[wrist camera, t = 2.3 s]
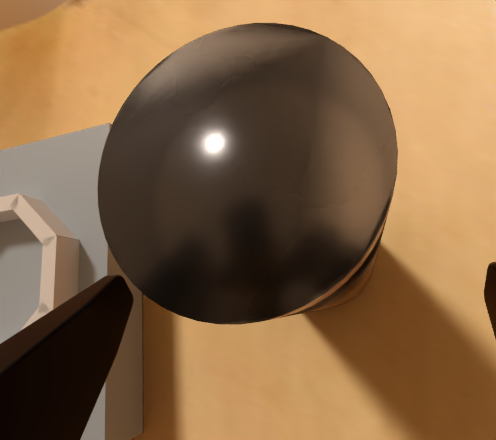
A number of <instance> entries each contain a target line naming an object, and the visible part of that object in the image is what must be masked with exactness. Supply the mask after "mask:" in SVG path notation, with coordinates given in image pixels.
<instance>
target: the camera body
mask: <svg viewBox="0 0 496 440" xmlns="http://www.w3.org/2000/svg"><path fill="white" fill-rule="evenodd" d="M111 127H112V124H110V123H108V124H104V125H100V126H96V127H92V128H88V129H84V130H80V131H76V132H72V133H68V134H64V135H60V136H56V137H52V138H48V139H44V140H40V141H36V142H32V143H28V144H24V145H20V146H16V147H12V148H8V149H4V150H0V344H1V343H2V342H4V341H5V340H7V339H8V338H10V337H11V336H13V335H15V334H16V333H18V332H19V331H21V330H22V329H24V328H25V327H27V326H28V325H30V324H32V323H33V322H35V321H36V320H38V319H39V318H41V317H42V316H44V315H46V314H47V313H49V312H50V311H52V310H53V309H55V308H56V307H58V306H59V305H61V304H63V303H64V302H66V301H67V300H69V299H70V298H72V297H73V296H75V295H77V294H78V293H80V292H81V291H83V290H84V289H86V288H87V287H89V286H91V285H92V284H94V283H95V282H97V281H98V280H100V279H101V278H103V277H104V276H106V275H117V274H118V275H121V276H123V277H124V279H125V281H126V283H127V285H128V287H129V288H130V290H131V292H132V294H133V298H134V302H133V307H132V310H131V313H130V316H129V319H128V322H127V325H126V328H125V332H124V335H123V338H122V341H121V344H120V347H119V350H118V353H117V355H116V358H115V360H114V363H113V365H112V367H111V370H110V372H109V374H108V377H107V379H106V381H105V384H104V386H103V388H102V391H101V393H100V395H99V398H98V400H97V402H96V405H95V407H94V409H93V412H92V414H91V416H90V419H89V421H88V423H87V426H86V428H85V430H84V432H83V435H82V437H81V439H80V440H131V439H133V438H134V437H136V436H138V435H139V434H141V433H143V347H142V292H141V291H140V290H139V289H138V288H137V287H136V286H135V285H134V284H133V283H132V282H131V281H130V280H129V279H128V277H127V276H126V275H125V274H124V272H123V271H122V270H121V268H120V267H119V265H118V263H117V262H116V260H115V258H114V257H113V255H112V253H111V250H110V248H109V246H108V244H107V241H106V239H105V235H104V232H103V229H102V225H101V221H100V215H99V208H98V190H97V187H98V174H99V167H100V162H101V156H102V152H103V149H104V146H105V142H106V139H107V136H108V134H109V131H110V129H111Z"/></svg>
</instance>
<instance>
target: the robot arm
mask: <svg viewBox="0 0 496 440" xmlns="http://www.w3.org/2000/svg"><path fill="white" fill-rule="evenodd" d="M484 299H485V303H486V307H487V310H488V314H489V317H490V321H491V324H492V328H493V331H494V335H495V339H496V262H492V263H490V264H489V266H488V269H487V275H486V282H485V288H484ZM133 302H134V298H133V294H132V292H131V290H130V288H129V287H128V285H127V283H126V281H125V279H124V277H123V276H121V275H118V274H117V275H106V276H104V277H103V278H101V279H100V280H98V281H97V282H95V283H94V284H92V285H91V286H89V287H87V288H86V289H84V290H83V291H81V292H80V293H78V294H77V295H75V296H73V297H72V298H70V299H69V300H67V301H66V302H64V303H63V304H61V305H59V306H58V307H56V308H55V309H53V310H52V311H50V312H49V313H47V314H46V315H44V316H42V317H41V318H39V319H38V320H36V321H35V322H33V323H32V324H30V325H28V326H27V327H25V328H24V329H22V330H21V331H19V332H18V333H16V334H15V335H13V336H11V337H10V338H8V339H7V340H5V341H4V342H2V343H1V344H0V440H80V439H81V437H82V435H83V432H84V430H85V428H86V426H87V423H88V421H89V419H90V416H91V414H92V412H93V409H94V407H95V405H96V402H97V400H98V398H99V395H100V393H101V391H102V388H103V386H104V384H105V381H106V379H107V377H108V374H109V372H110V370H111V367H112V365H113V363H114V360H115V358H116V355H117V353H118V350H119V347H120V344H121V341H122V338H123V335H124V332H125V328H126V325H127V322H128V319H129V316H130V313H131V310H132V307H133Z"/></svg>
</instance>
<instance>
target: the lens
mask: <svg viewBox="0 0 496 440" xmlns="http://www.w3.org/2000/svg"><path fill="white" fill-rule="evenodd" d="M397 157H398V149H397V140H396V131H395V126H394V123H393V119H392V115H391V111H390V108H389V106H388V104H387V101H386V99H385V97H384V95H383V92H382V90H381V89H380V87H379V86H378V84H377V82H376V81H375V79H374V78H373V76H372V75H371V73H370V72H369V71H368V70H367V69H366V68H365V67H364V65H363V64H362V63H361V62H360V61H359V60H358V59H357V58H356V57H355V56H354V55H352V54H351V53H350V52H349V51H347V50H346V49H345V48H344V47H342V46H341V45H339V44H337V43H336V42H334V41H332V40H331V39H329V38H327V37H325V36H323V35H320V34H318V33H316V32H313V31H311V30H308V29H304V28H300V27H296V26H293V25H285V24H277V23H252V24H244V25H237V26H233V27H229V28H224V29H220V30H218V31H215V32H212V33H209V34H206V35H204V36H202V37H199V38H197V39H195V40H193V41H191V42H189V43H187V44H186V45H184V46H182V47H181V48H179V49H178V50H176V51H174V52H173V53H171V54H170V55H169V56H167V57H166V58H165V59H164V60H162V61H161V62H160V63H158V64H157V65H156V66H155V67H154V68H153V69H152V70H151V71H150V72H149V73H148V74H147V75H146V76H145V77H144V78H143V79H142V80H141V81H140V83H139V84H138V85H137V86H136V87H135V88H134V90H133V91H132V92H131V94H130V95H129V97H128V98H127V99H126V101H125V102H124V104H123V105H122V107H121V109H120V111H119V113H118V114H117V116H116V118H115V120H114V122H113V124H112V127H111V129H110V131H109V134H108V136H107V139H106V142H105V146H104V149H103V152H102V156H101V162H100V167H99V174H98V187H97V190H98V208H99V215H100V221H101V225H102V229H103V232H104V235H105V239H106V241H107V244H108V246H109V248H110V250H111V253H112V255H113V257H114V258H115V260H116V262H117V263H118V265H119V267H120V268H121V270H122V271H123V272H124V274H125V275H126V276H127V277H128V279H129V280H130V281H131V282H132V283H133V284H134V285H135V286H136V287H137V288H138V289H139V290H140V291H141V292H142V293H143V294H144V295H146V296H147V297H148V298H150V299H151V300H153V301H154V302H156V303H157V304H158V305H160V306H161V307H163V308H165V309H167V310H169V311H172V312H174V313H176V314H178V315H180V316H183V317H187V318H190V319H193V320H196V321H201V322H208V323H214V324H246V323H253V322H260V321H266V320H271V319H276V318H280V317H285V316H290V315H295V314H300V313H305V312H310V311H315V310H320V309H325V308H330V307H334V306H338V305H341V304H343V303H346V302H348V301H349V300H351V299H353V298H354V297H355V296H356V295H358V294H359V293H360V291H361V290H362V289H363V288H364V287H365V285H366V284H367V282H368V280H369V278H370V276H371V273H372V270H373V266H374V263H375V259H376V255H377V252H378V248H379V244H380V241H381V237H382V233H383V230H384V226H385V222H386V218H387V215H388V211H389V207H390V204H391V200H392V196H393V191H394V186H395V181H396V175H397Z"/></svg>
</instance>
